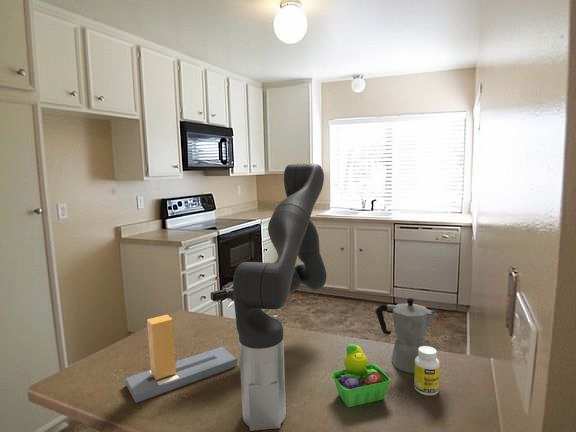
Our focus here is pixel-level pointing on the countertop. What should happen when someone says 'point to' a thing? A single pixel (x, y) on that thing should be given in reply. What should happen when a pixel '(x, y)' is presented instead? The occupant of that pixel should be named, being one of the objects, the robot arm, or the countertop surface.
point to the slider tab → (161, 346)
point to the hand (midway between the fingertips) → (211, 297)
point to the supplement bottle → (427, 371)
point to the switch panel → (180, 374)
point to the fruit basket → (360, 379)
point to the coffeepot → (406, 331)
